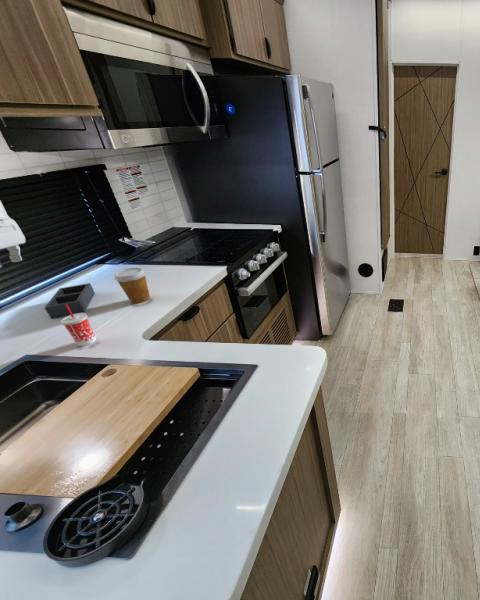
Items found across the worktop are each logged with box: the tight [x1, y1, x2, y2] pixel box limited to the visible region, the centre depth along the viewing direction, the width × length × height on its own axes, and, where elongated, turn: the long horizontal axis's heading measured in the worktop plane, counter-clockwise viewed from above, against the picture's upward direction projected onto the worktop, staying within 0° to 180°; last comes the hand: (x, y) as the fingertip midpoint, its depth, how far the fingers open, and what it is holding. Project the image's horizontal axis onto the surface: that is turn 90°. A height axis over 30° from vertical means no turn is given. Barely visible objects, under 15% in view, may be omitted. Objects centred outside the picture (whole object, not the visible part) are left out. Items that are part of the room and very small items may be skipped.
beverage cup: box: [60, 303, 97, 347], centre depth 103 cm, size 6×6×14 cm
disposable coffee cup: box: [114, 267, 151, 304], centre depth 128 cm, size 10×10×12 cm
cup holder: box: [44, 282, 96, 320], centre depth 127 cm, size 10×18×5 cm, turn 30°
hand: (7, 264), depth 93 cm, fingers open, 8 cm apart
